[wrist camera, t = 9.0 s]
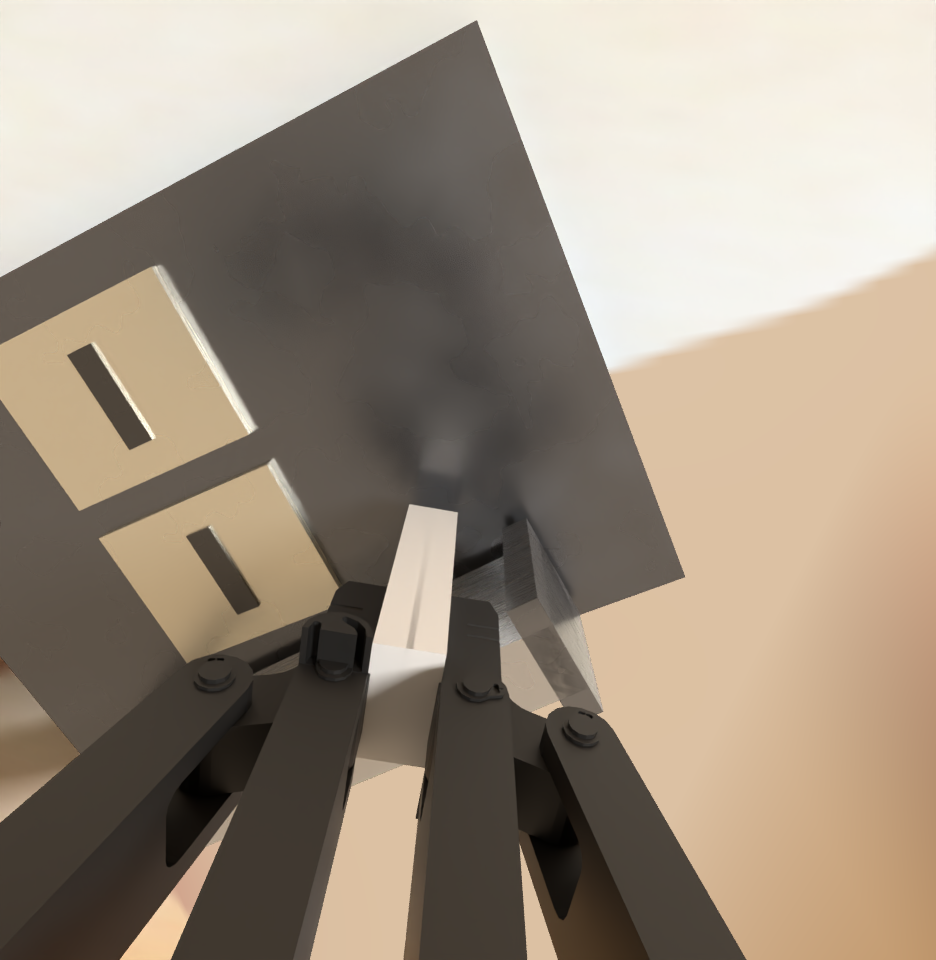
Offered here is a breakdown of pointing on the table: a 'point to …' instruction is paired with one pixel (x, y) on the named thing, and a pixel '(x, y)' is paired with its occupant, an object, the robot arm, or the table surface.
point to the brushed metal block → (515, 636)
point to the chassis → (302, 394)
